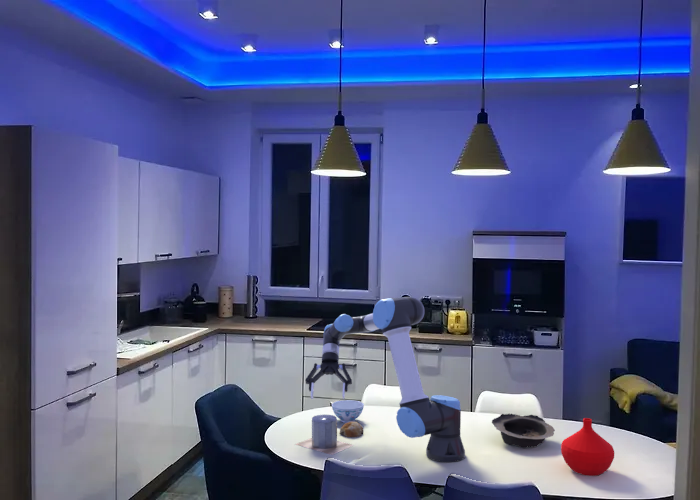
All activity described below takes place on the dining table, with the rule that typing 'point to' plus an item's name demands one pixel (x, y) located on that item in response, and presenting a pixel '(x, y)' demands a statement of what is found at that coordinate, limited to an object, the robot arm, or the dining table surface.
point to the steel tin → (324, 431)
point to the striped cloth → (331, 451)
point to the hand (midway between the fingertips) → (327, 397)
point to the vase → (587, 451)
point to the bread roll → (351, 429)
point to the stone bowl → (523, 429)
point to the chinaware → (347, 410)
